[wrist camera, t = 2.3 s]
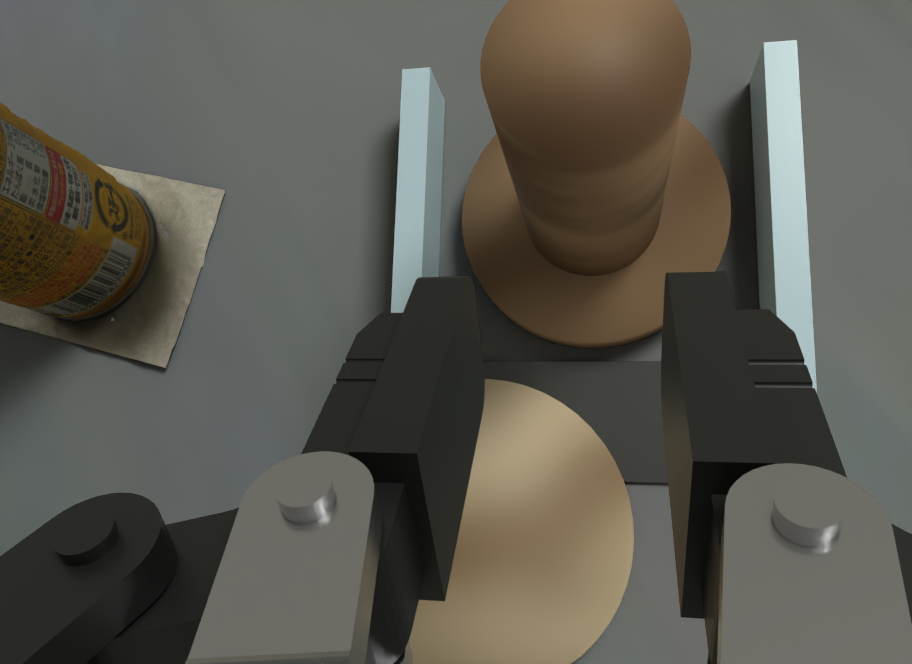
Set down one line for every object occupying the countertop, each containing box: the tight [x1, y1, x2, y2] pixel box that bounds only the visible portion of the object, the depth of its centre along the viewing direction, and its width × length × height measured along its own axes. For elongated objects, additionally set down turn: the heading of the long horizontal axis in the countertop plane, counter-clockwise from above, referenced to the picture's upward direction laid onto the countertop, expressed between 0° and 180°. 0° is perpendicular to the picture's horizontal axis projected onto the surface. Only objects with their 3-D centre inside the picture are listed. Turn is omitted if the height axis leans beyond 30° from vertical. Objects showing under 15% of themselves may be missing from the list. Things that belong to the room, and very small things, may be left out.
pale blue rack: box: [391, 40, 817, 483], centre depth 26 cm, size 14×13×2 cm
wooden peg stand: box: [462, 0, 731, 348], centre depth 22 cm, size 9×9×11 cm
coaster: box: [410, 379, 634, 664], centre depth 26 cm, size 10×10×1 cm
